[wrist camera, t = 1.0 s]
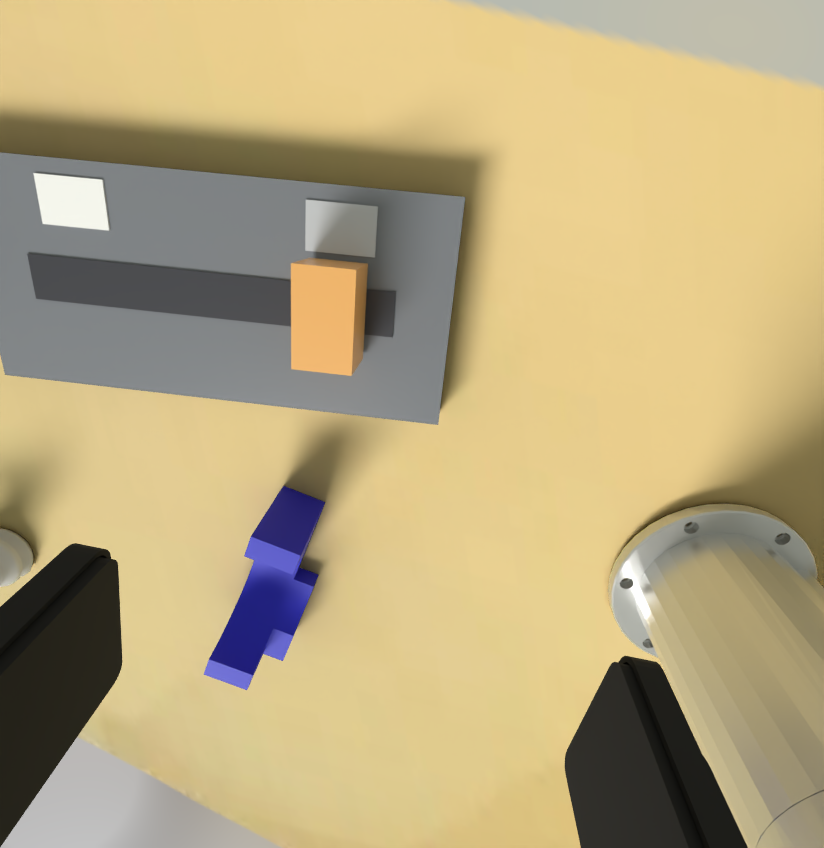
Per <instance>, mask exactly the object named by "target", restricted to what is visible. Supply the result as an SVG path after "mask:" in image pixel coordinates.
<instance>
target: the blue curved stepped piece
mask: <svg viewBox="0 0 824 848" xmlns="http://www.w3.org/2000/svg"><path fill="white" fill-rule="evenodd" d="M324 504H325V502H323V501H321V500H318V499H316V498H313V497H311V496H308V495H306V494H303V493H301V492H298V491H296V490H293V489H291V488H288V487H286V486H283V487H282V489H281V491H280V492H279V494H278V495H277V497H276V498H275V500H274V501H273V503H272V505H271V506H270V508H269V509H268V511H267V512H266V514H265V515H264V517H263V519H262V520H261V522H260V523H259V525H258V526H257V528H256V529H255V531H254V533H253V534H252V536H251V538H250V541H249V544H248V547H247V550H246V552H245V555H244V556H245V557H248V558H250V559H253V560H254V563H253V566H252V568H251V571H250V574H249V576H248V579H247V581H246V584H245V586H244V588H243V591H242V593H241V595H240V598H239V600H238V602H237V604H236V606H235V609H234V611H233V613H232V615H231V617H230V619H229V621H228V624H227V626H226V628H225V630H224V632H223V634H222V636H221V638H220V640H219V642H218V643H217V645H216V647H215V649H214V651H213V653H212V655H211V657H210V658H209V661H208V664H207V667H206V669H205V672H204V675H207V676H210V677H212V678H215V679H218V680H221V681H223V682H226V683H229V684H232V685H234V686H237V687H240V688H243V689H245V690H247V689H248V687H249V684H250V682H251V680H252V678H253V675H254V673H255V671H256V669H257V666H258V664H259V662H260V660H261V657H262V655H263V654H265V655H268V656H271V657H273V658H276V659H279V660H281V661H283V659H284V657H285V655H286V652H287V650H288V648H289V645H290V643H291V641H292V638H293V636H294V633H295V631H296V629H297V626H298V624H299V621H300V619H301V616H302V614H303V612H304V609H305V607H306V604H307V602H308V600H309V597H310V595H311V592H312V590H313V588H314V585H315V583H316V580H317V577H318V574H315V573H313V572H310V571H308V570H305V569H302V568H300V567H299V566H300V564H301V561H302V559H303V556H304V554H305V551H306V549H307V547H308V544H309V542H310V539H311V537H312V534H313V532H314V529H315V527H316V524H317V522H318V519H319V517H320V514H321V512H322V509H323V507H324Z"/></svg>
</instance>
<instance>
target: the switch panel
mask: <svg viewBox="0 0 824 848" xmlns="http://www.w3.org/2000/svg"><path fill="white" fill-rule="evenodd" d="M464 203H465V197H460V196H450V195H439V194H429V193H418V192H408V191H398V190H387V189H377V188H366V187H356V186H345V185H335V184H324V183H314V182H304V181H293V180H283V179H272V178H262V177H251V176H241V175H230V174H220V173H210V172H199V171H189V170H178V169H168V168H157V167H147V166H136V165H126V164H116V163H105V162H95V161H84V160H74V159H63V158H53V157H42V156H32V155H22V154H11V153H1V152H0V355H1V359H2V363H3V368H4V372H5V375H11V376H20V377H29V378H37V379H46V380H55V381H63V382H72V383H81V384H89V385H98V386H107V387H115V388H124V389H132V390H141V391H150V392H158V393H167V394H176V395H184V396H193V397H202V398H210V399H219V400H228V401H236V402H245V403H254V404H262V405H271V406H280V407H288V408H297V409H306V410H314V411H323V412H332V413H340V414H349V415H358V416H366V417H375V418H384V419H392V420H401V421H410V422H418V423H427V424H436V425H438V421H439V413H440V404H441V396H442V388H443V379H444V371H445V362H446V354H447V346H448V337H449V329H450V320H451V312H452V304H453V295H454V287H455V279H456V270H457V262H458V253H459V245H460V237H461V228H462V220H463V212H464ZM307 258H319V259H328V260H338V261H348V262H358V263H367V264H368V274H367V293H366V311H365V330H364V349H363V359H362V361H361V363H360V364H359V366H358V367H357V369H356V370H355V372H354V373H353V375H352V376H347V375H338V374H329V373H321V372H312V371H303V370H294V369H291V263H293V262H297V261H300V260H303V259H307Z"/></svg>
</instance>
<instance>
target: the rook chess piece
mask: <svg viewBox="0 0 824 848" xmlns="http://www.w3.org/2000/svg"><path fill="white" fill-rule="evenodd" d="M32 564H33V552H32V549H31V547H30V546H29V544H28V542H27V541H26V540H25V539H23V538H22V537H21V536H20V535H19V534H17V533H15V532H13V531H11V530H7V529H2V528H0V587H2V586H8V585H10V584H12V583H14V582H15V581H17V580H18V579H19V578H20V577H21V576H24V575H25V574H27V573H28V572H29V571H30V569H31V567H32Z"/></svg>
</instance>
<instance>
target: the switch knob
mask: <svg viewBox="0 0 824 848" xmlns="http://www.w3.org/2000/svg"><path fill="white" fill-rule="evenodd" d="M367 274H368V264H367V263H358V262H348V261H338V260H328V259H319V258H307V259H303V260H300V261H297V262H293V263H291V369H294V370H303V371H312V372H321V373H329V374H338V375H347V376H352V375H353V373H354V372H355V370H356V369H357V367H358V366H359V364H360V363H361V361H362V359H363V349H364V330H365V311H366V293H367Z"/></svg>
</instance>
